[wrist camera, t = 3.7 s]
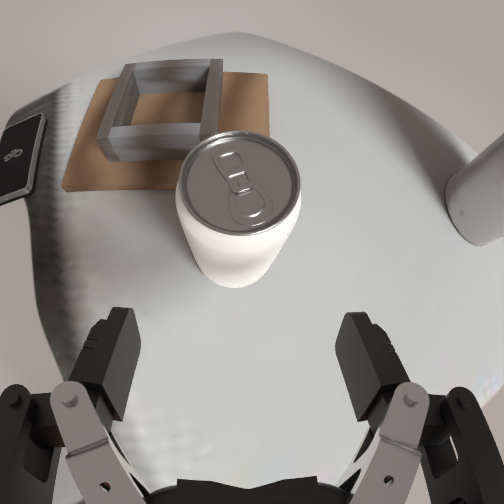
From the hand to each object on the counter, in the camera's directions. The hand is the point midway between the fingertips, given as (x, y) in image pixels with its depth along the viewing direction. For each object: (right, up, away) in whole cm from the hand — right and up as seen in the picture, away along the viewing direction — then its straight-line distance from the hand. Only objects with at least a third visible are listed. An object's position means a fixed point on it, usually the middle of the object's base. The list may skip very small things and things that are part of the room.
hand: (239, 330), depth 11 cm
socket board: (-8, +16, +17) cm, 24 cm away
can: (-1, +3, +14) cm, 14 cm away
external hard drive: (-27, +13, +15) cm, 34 cm away
